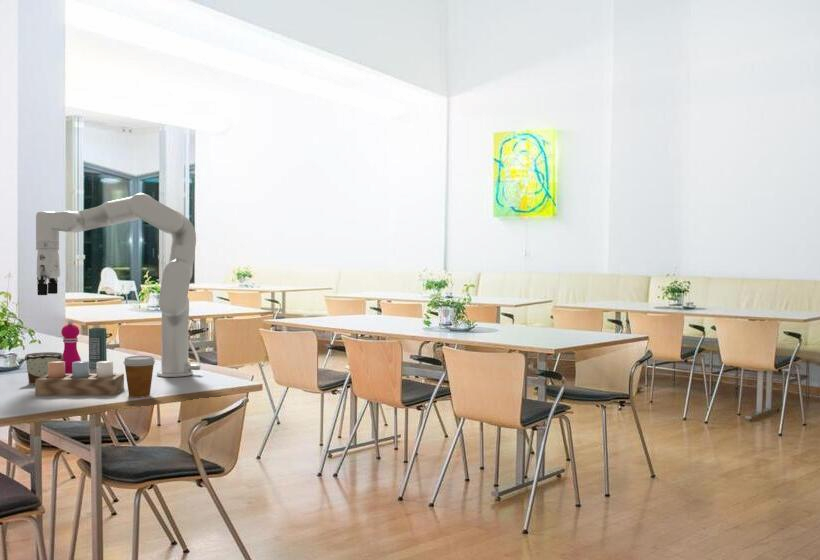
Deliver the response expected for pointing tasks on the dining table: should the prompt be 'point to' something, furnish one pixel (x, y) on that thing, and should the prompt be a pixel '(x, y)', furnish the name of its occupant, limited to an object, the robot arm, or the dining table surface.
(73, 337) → the pepper mill
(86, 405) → the dining table surface
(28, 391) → the dining table surface
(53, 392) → the wooden egg rack
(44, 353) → the food container
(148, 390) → the disposable coffee cup
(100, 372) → the white egg
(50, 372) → the terracotta egg
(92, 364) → the dark green cylinder
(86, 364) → the slate egg
